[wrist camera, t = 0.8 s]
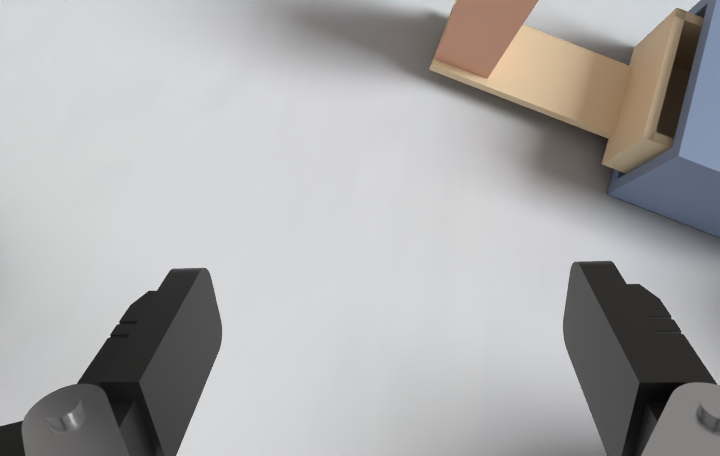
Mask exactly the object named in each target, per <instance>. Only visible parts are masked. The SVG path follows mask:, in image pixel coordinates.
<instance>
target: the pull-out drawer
mask: <svg viewBox="0 0 720 456" xmlns="http://www.w3.org/2000/svg"><path fill="white" fill-rule="evenodd" d="M537 2H538V0H455V3H454V5H453V8H452V10H451V13H450V16H449V18H448V21H447V24H446V26H445V29H444V32H443V34H442V37H441V39H440V42H439V45H438V47H437V50H436V53H435V55H434V58H433V61H432V63H431V66H430V68H429V70H431V71H434V72H436V73H439V74H442V75H444V76H447V77H449V78H452V79H455V80H457V81H460V82H462V83H465V84H467V85H470V86H473V87H475V88H478V89H480V90H483V91H486V92H488V93H491V94H493V95H496V96H499V97H501V98H504V99H506V100H509V101H512V102H514V103H517V104H519V105H522V106H525V107H527V108H530V109H532V110H535V111H537V112H540V113H543V114H545V115H548V116H550V117H553V118H556V119H558V120H561V121H563V122H566V123H569V124H571V125H574V126H576V127H579V128H582V129H584V130H587V131H589V132H592V133H595V134H597V135H600V136H602V137H605V138H607V139H608V143H607V146H606V150H605V154H604V157H603V161H602V165H605V166H607V167H610V168H612V169H615V170H617V171H620V172H623V173H625V174H627V173H629V172H630V171H632V170H634V169H636V168H638V167H639V166H641V165H643V164H645V163H646V162H648V161H650V160H652V159H653V158H655V157H657V156H659V155H660V154H662V153H664V152H666V151H667V150H669V149H671V148H672V146H673V142H674V138H675V133H676V129H677V125H678V121H679V117H680V113H681V109H682V105H683V101H684V97H685V93H686V89H687V85H688V81H689V77H690V73H691V69H692V65H693V61H694V57H695V53H696V49H697V44H698V40H699V36H700V32H701V28H702V24H703V20H704V18H702V17H700V16H697V15H695V14H692V13H690V12H687V11H684V10H682V9H679V8H676V9H675V10H674V11H673V12H672V13H671V14H670V15H669V16H668V17H667V18H665V19H664V20H663V21H662V22H661V23H660V24H659V25H658V26H657V27H656V28H655V29H654V30H653V31H652V32H651V33H650V34H649V35H647V36H646V37H645V38H644V39H643V40H642V41H641V42H640V43H639V44H638V45H637V46H636V47H635V48H634V50H633V53H632V57H631V61H630V64H629V65H627V64H624V63H621V62H619V61H616V60H614V59H611V58H609V57H606V56H603V55H601V54H598V53H596V52H593V51H590V50H588V49H585V48H583V47H580V46H577V45H575V44H572V43H570V42H567V41H564V40H562V39H559V38H557V37H554V36H552V35H549V34H546V33H544V32H541V31H539V30H536V29H533V28H531V27H528V26H526V25H523V23H524V22H525V20H526V19H527V17H528V15H529V14H530V12H531V11H532V9H533V8H534V6H535V5H536V3H537Z"/></svg>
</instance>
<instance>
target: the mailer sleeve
mask: <svg viewBox="0 0 720 456" xmlns="http://www.w3.org/2000/svg"><path fill="white" fill-rule="evenodd" d="M688 12H690V13H692V14H695V15H697V16H700V17H702V18H704V20H703V24H702V28H701V32H700V36H699V40H698V44H697V49H696V53H695V57H694V61H693V65H692V69H691V73H690V77H689V81H688V85H687V89H686V93H685V97H684V101H683V105H682V109H681V113H680V117H679V121H678V125H677V129H676V133H675V138H674V142H673V146H672V148H671V149H669V150H667V151H666V152H664V153H662V154H660V155H659V156H657V157H655V158H653V159H652V160H650V161H648V162H646V163H645V164H643V165H641V166H639V167H638V168H636V169H634V170H632V171H630V172H629V173H627V174H625V173H623V172H620V171H617V170H615V169H614V171H613V175H612V179H611V182H610V186H609V190H608V193H607V194H608V195H610V196H613V197H616V198H618V199H621V200H623V201H626V202H629V203H631V204H634V205H636V206H639V207H641V208H644V209H647V210H649V211H652V212H654V213H657V214H660V215H662V216H665V217H667V218H670V219H673V220H675V221H678V222H680V223H683V224H686V225H688V226H691V227H693V228H696V229H699V230H701V231H704V232H706V233H709V234H712V235H714V236H717V237H719V238H720V0H700V1H699V2H698V3H697V4H696V5H695V6H694V7H693V8H692V9H691V10H689V11H688Z"/></svg>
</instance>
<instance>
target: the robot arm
mask: <svg viewBox="0 0 720 456" xmlns="http://www.w3.org/2000/svg"><path fill="white" fill-rule="evenodd" d="M119 322H120V324H119V325H117V326H116V327H115V329H114V330H113V332H112V333H111V334H110V335H111V337H110V338H108V339H107V340H106V342H105V343H104V345H103V346H102V348H101V349H100V351H99V352H98V354H97V355H96V356H95V358H94V359H93V361H92V362H91V364H90V365H89V367H88V368H87V370H86V371H85V373H84V374H83V376H82V377H81V378H80V380H79V381H78V383H77V384H75V385H70V386H67V387H64V388H61V389H58V390H56V391H54V392H52V393H50V394H49V395H47V396H45V397H44V398H43V399H41V400H40V401H39V402H37V403H36V404H35V405H34V406H33V407H32V408H31V409H30V410H29V412H28V413H27V415H26V416H25V418H24V420H23V421H20V422H16V423H12V424H8V425H4V426H0V456H176V454H177V452H178V450H179V447H180V445H181V442H182V440H183V437H184V435H185V432H186V430H187V428H188V425H189V423H190V420H191V418H192V415H193V413H194V411H195V408H196V406H197V403H198V401H199V398H200V396H201V393H202V391H203V389H204V386H205V384H206V381H207V379H208V376H209V374H210V371H211V369H212V367H213V364H214V362H215V359H216V357H217V354H218V352H219V349H220V346H221V340H222V324H221V319H220V314H219V310H218V306H217V301H216V297H215V293H214V288H213V284H212V280H211V276H210V273H209V271H208V270H207V269H206V268H183V269H172V270H170V272H169V273H168V275H167V276H166V278H165V279H164V281H163V282H162V284H161V286H160V287H159V289H158V290H157V291H148V292H147V293H146V294H144V295H143V296H142V297H140V298H139V299H138V300H137V301H135V302H134V303H133V304H131V305H130V307H129V308H128V310H127V311H126V312H125V314H124V315H123V317H122V318H121V320H120V321H119ZM563 333H564V341H565V345H566V349H567V351H568V354H569V356H570V359H571V362H572V364H573V367H574V370H575V372H576V375H577V377H578V380H579V383H580V385H581V388H582V390H583V393H584V396H585V398H586V401H587V403H588V406H589V409H590V411H591V414H592V416H593V419H594V422H595V424H596V427H597V429H598V432H599V435H600V437H601V440H602V442H603V445H604V448H605V450H606V453H607V456H720V386H719V385H717V383H716V382H715V380H714V379H713V377H712V376H711V374H710V373H709V372H708V370H707V369H706V367H705V366H704V364H703V363H702V361H701V360H700V358H699V357H698V355H697V354H696V352H695V351H694V349H693V348H692V346H691V345H690V343H689V342H688V340H687V339H686V337H685V336H684V334H681V330H680V328H679V327H678V325H677V324H676V323H675V321H674V320H672V319H671V315H670V314H669V312H668V311H667V309H666V308H665V306H664V305H663V303H662V302H661V300H660V299H659V298H658V297H656V296H655V295H654V294H652V293H651V292H649V291H648V290H647V289H645V288H644V287H642V286H641V285H640V284H626V282H625V281H624V279H623V278H622V276H621V274H620V273H619V271H618V269H617V268H616V266H615V265H614V263H613V262H611V261H592V262H574V263H573V264H572V267H571V271H570V277H569V284H568V291H567V298H566V305H565V312H564V319H563Z"/></svg>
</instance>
